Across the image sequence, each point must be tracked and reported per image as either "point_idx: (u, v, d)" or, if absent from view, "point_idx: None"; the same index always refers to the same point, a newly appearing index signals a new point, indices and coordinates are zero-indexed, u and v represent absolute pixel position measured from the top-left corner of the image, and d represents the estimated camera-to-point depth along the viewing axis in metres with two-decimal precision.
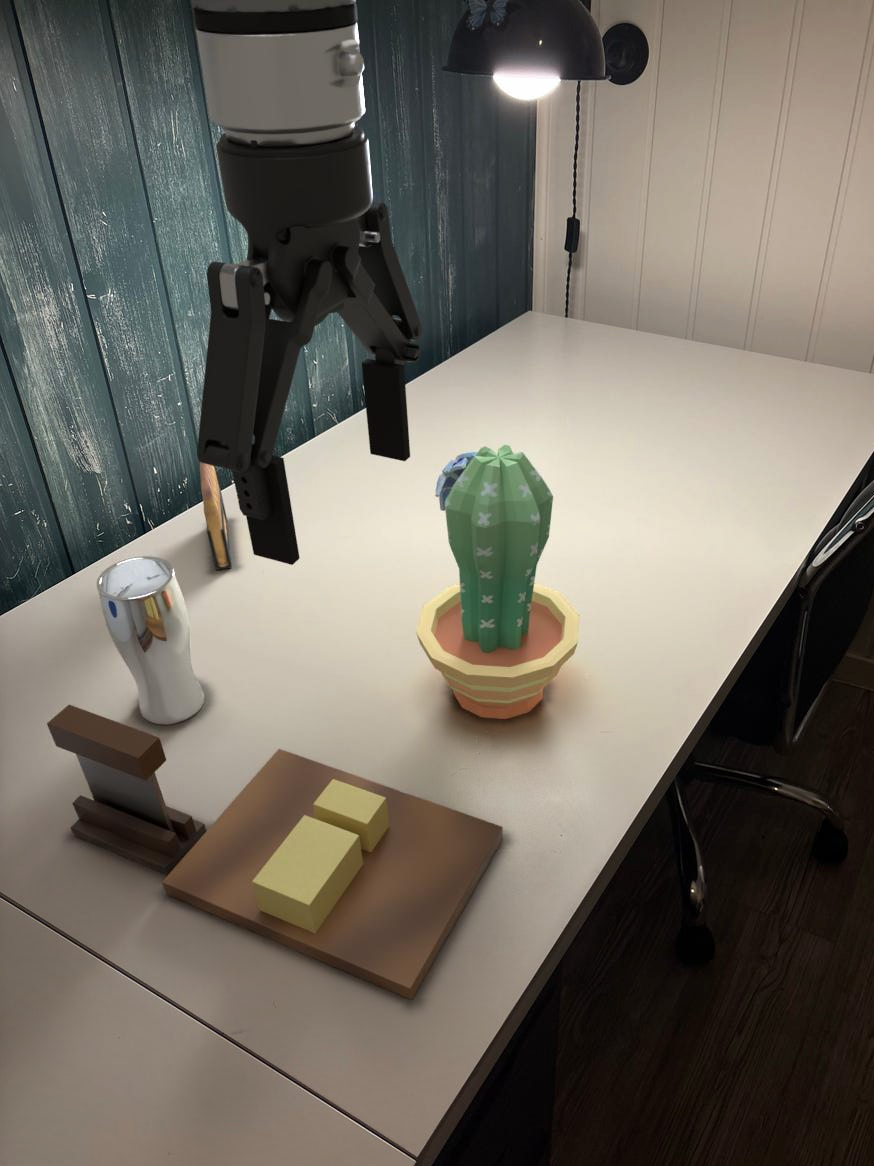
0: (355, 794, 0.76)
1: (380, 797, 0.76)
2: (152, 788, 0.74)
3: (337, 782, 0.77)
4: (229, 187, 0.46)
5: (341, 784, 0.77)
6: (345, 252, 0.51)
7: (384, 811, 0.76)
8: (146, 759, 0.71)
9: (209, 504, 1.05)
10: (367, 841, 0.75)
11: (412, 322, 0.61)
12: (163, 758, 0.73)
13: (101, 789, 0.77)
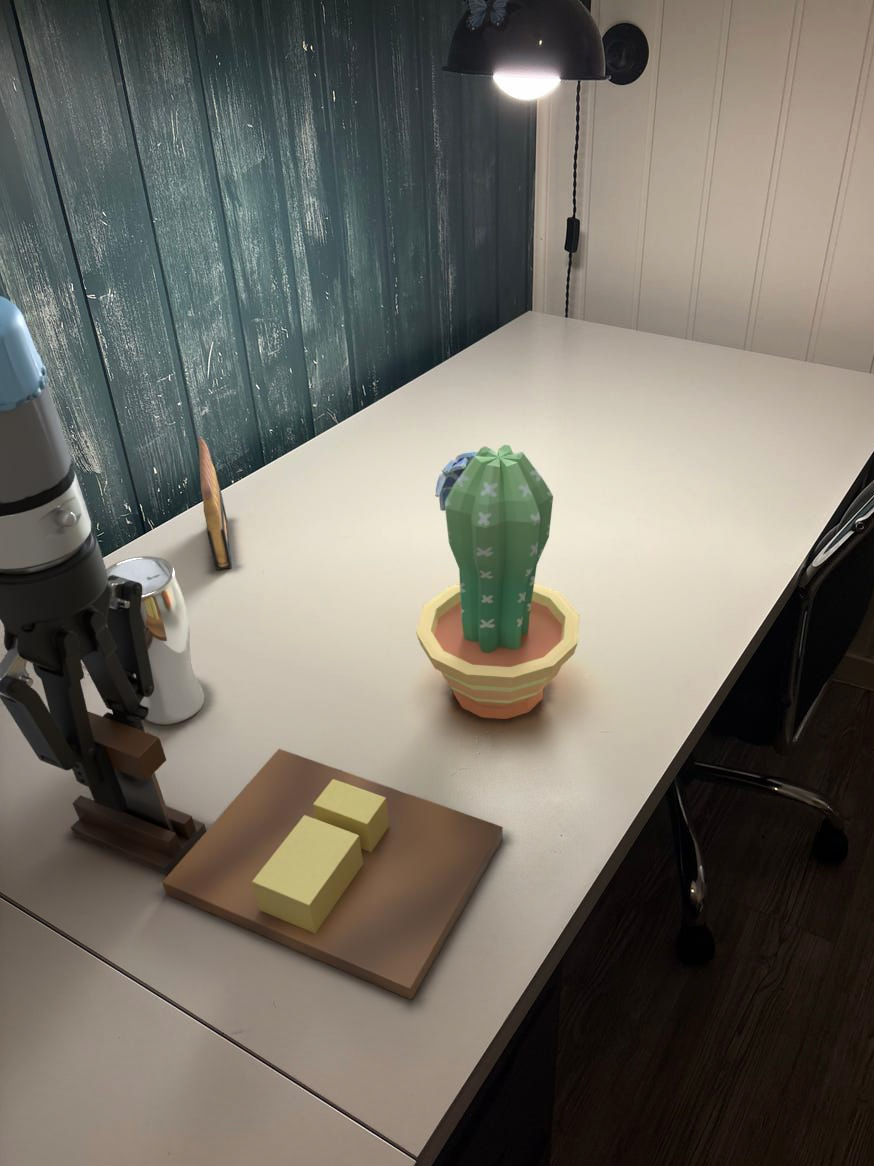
0: (355, 794, 0.76)
1: (380, 797, 0.76)
2: (152, 788, 0.74)
3: (337, 782, 0.77)
4: None
5: (341, 784, 0.77)
6: (93, 613, 0.66)
7: (384, 811, 0.76)
8: (146, 759, 0.71)
9: (209, 504, 1.05)
10: (367, 841, 0.75)
11: (145, 680, 0.73)
12: (163, 758, 0.73)
13: None
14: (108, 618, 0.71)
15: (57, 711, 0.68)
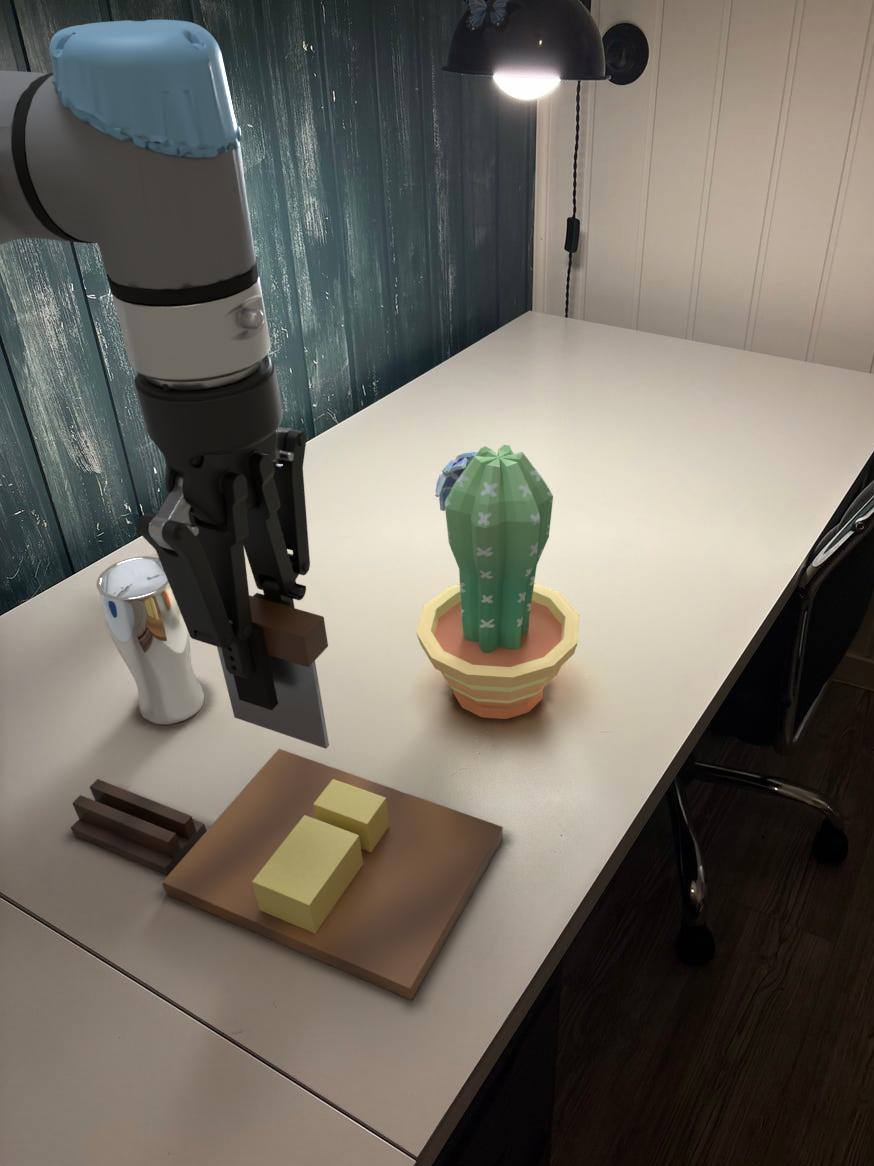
0: (355, 794, 0.76)
1: (380, 797, 0.76)
2: (310, 680, 0.63)
3: (337, 782, 0.77)
4: (146, 418, 0.51)
5: (341, 784, 0.77)
6: (262, 456, 0.55)
7: (384, 811, 0.76)
8: (310, 640, 0.60)
9: None
10: (367, 841, 0.75)
11: (302, 554, 0.63)
12: (325, 644, 0.62)
13: None
14: None
15: (213, 579, 0.58)
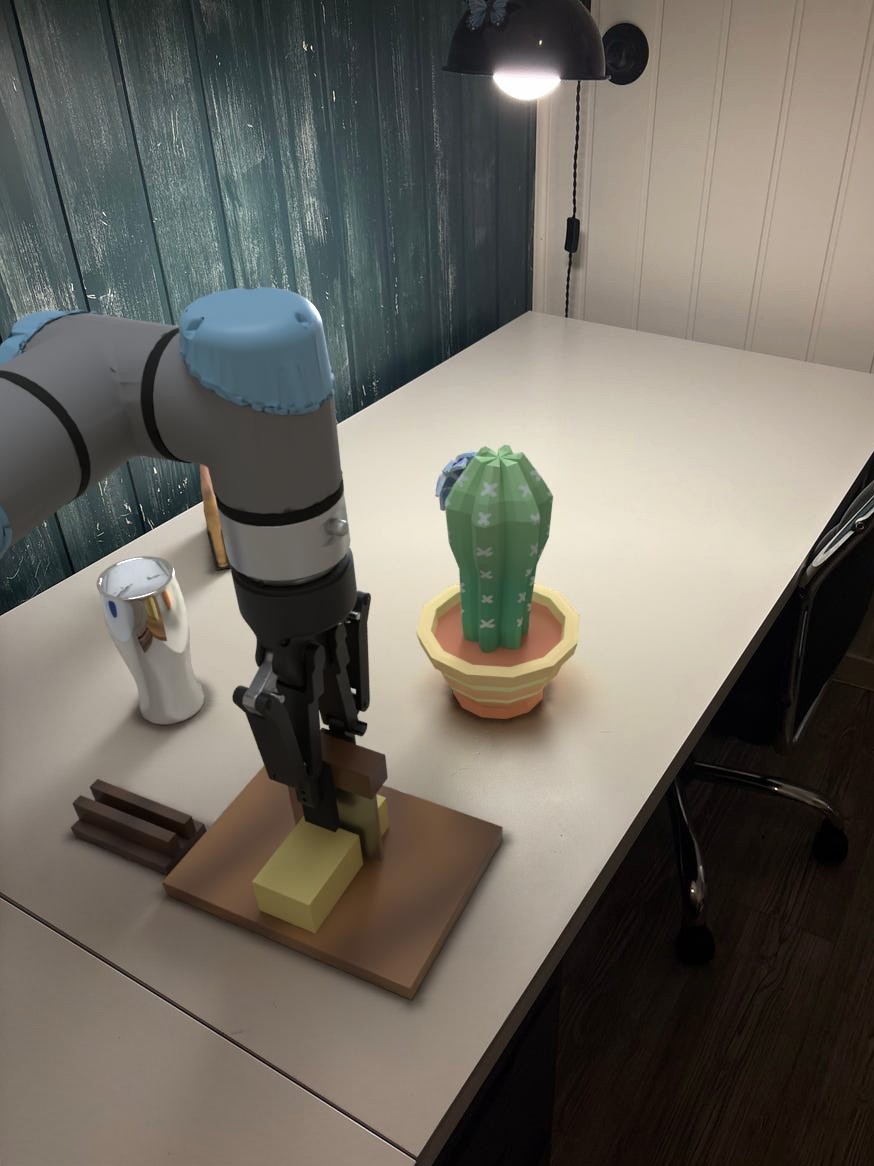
0: None
1: (380, 797, 0.76)
2: (370, 807, 0.71)
3: None
4: (241, 604, 0.58)
5: None
6: (337, 625, 0.62)
7: (384, 811, 0.76)
8: (374, 777, 0.68)
9: (209, 504, 1.05)
10: None
11: (364, 694, 0.70)
12: (386, 776, 0.69)
13: None
14: None
15: None
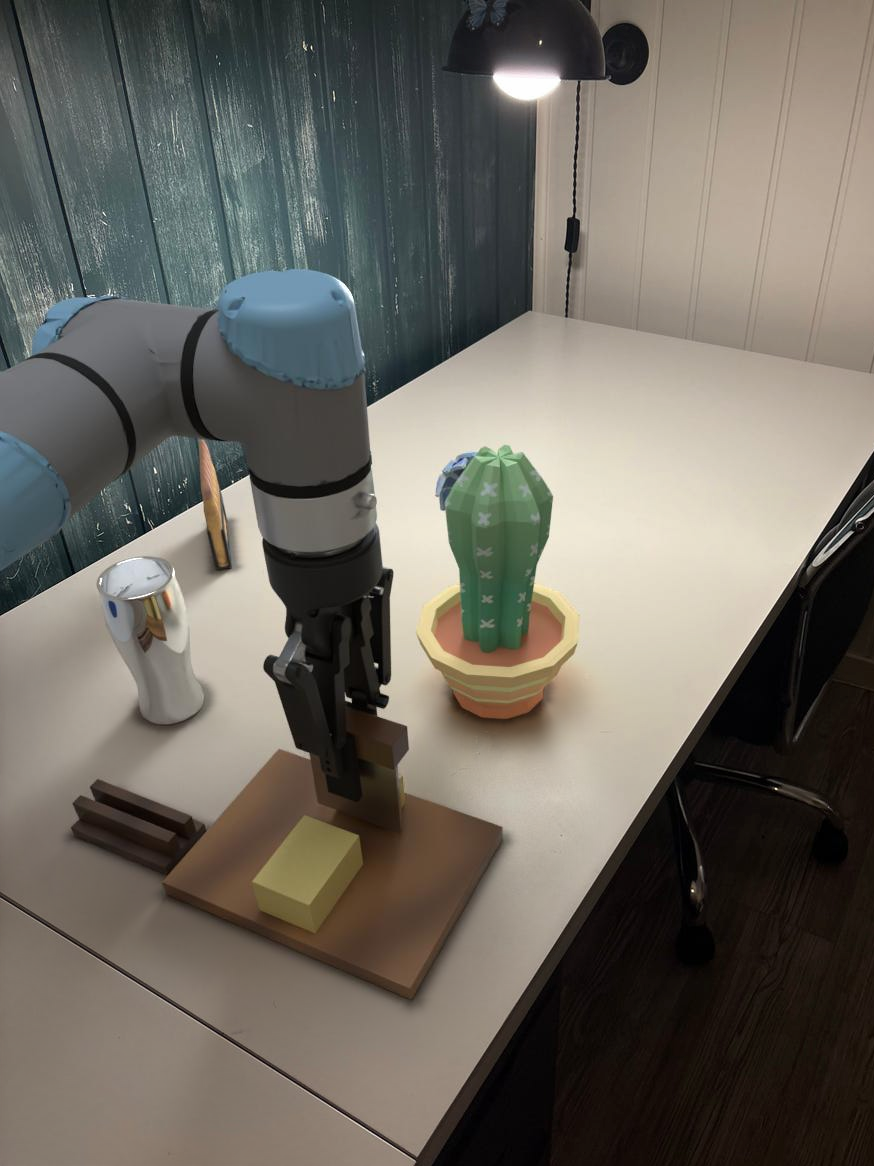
0: None
1: None
2: (392, 778, 0.73)
3: None
4: (272, 576, 0.60)
5: None
6: (362, 599, 0.65)
7: (401, 788, 0.78)
8: (396, 748, 0.70)
9: (209, 504, 1.05)
10: None
11: (385, 668, 0.73)
12: (407, 748, 0.72)
13: None
14: None
15: None
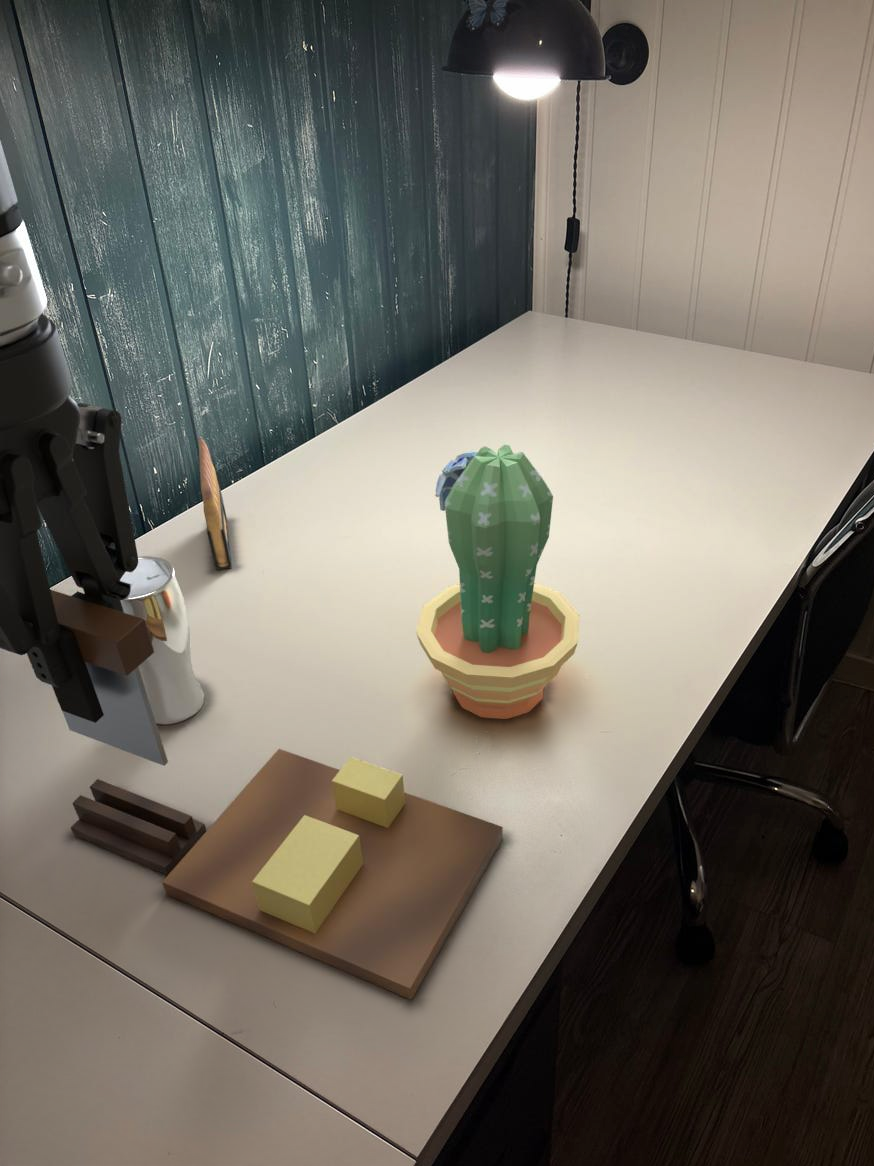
0: (372, 771, 0.78)
1: (397, 774, 0.78)
2: (136, 690, 0.57)
3: (355, 760, 0.79)
4: None
5: (359, 762, 0.79)
6: (53, 437, 0.49)
7: (401, 788, 0.78)
8: (127, 646, 0.54)
9: (209, 504, 1.05)
10: (384, 816, 0.77)
11: (126, 549, 0.56)
12: (150, 650, 0.56)
13: None
14: (77, 461, 0.54)
15: (7, 576, 0.51)
